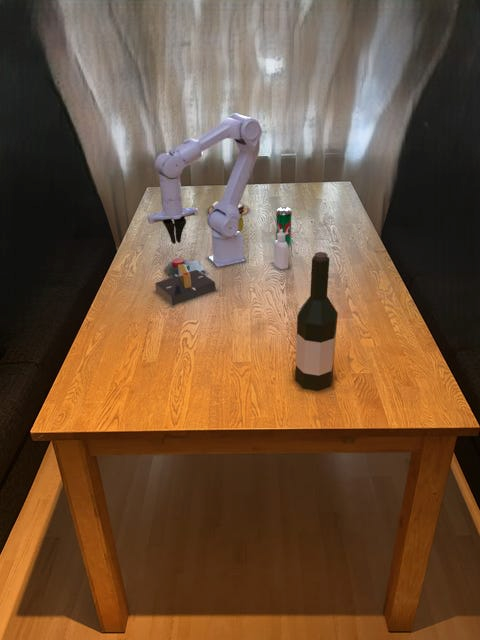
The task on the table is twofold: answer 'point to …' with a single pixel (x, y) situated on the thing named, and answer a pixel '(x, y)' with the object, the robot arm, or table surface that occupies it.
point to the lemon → (240, 223)
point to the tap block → (178, 293)
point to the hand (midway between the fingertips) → (175, 242)
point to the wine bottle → (316, 331)
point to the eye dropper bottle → (281, 251)
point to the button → (177, 262)
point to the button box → (189, 266)
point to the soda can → (284, 222)
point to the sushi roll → (241, 208)
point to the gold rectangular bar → (184, 276)
